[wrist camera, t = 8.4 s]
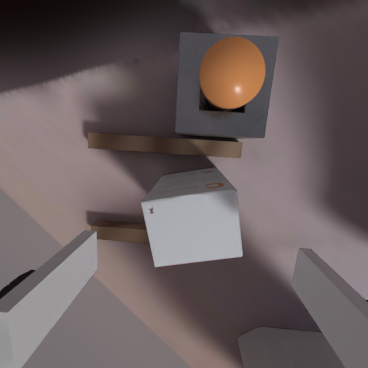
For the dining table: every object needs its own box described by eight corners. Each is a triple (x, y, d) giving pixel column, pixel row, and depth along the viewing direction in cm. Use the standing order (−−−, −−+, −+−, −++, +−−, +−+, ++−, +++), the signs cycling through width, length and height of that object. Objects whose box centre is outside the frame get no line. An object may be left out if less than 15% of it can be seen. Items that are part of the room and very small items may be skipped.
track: (238, 142, 28) (242, 142, 26) (227, 242, 32) (229, 249, 30) (94, 132, 29) (87, 132, 27) (97, 232, 32) (91, 238, 30)
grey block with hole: (246, 74, 27) (278, 36, 17) (239, 138, 28) (264, 137, 18) (184, 71, 27) (180, 31, 17) (180, 134, 28) (174, 132, 19)
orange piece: (244, 71, 20) (269, 38, 13) (239, 118, 21) (260, 109, 14) (199, 69, 20) (202, 34, 14) (195, 116, 21) (197, 105, 15)
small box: (168, 216, 31) (152, 269, 18) (161, 174, 30) (138, 201, 17) (222, 208, 30) (244, 258, 18) (217, 166, 29) (237, 187, 16)
